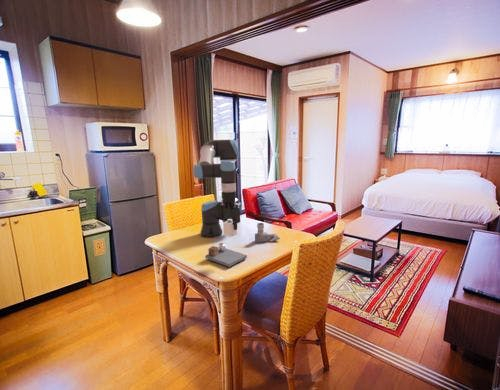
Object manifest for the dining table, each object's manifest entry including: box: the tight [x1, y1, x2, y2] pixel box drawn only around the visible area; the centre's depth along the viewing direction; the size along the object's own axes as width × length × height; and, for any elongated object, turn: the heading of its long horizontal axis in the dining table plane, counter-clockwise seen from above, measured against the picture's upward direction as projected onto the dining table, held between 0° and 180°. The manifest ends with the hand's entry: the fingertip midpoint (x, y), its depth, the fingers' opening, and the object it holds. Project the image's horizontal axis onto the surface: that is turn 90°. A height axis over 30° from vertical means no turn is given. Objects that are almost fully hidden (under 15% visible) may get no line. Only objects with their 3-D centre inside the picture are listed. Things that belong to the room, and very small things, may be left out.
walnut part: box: [207, 245, 219, 257], centre depth 151 cm, size 4×4×4 cm
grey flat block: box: [204, 247, 248, 269], centre depth 151 cm, size 18×14×2 cm
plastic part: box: [222, 219, 233, 238], centre depth 145 cm, size 5×5×8 cm
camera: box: [254, 222, 281, 243], centre depth 177 cm, size 9×12×15 cm
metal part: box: [218, 242, 226, 252], centre depth 156 cm, size 4×4×4 cm
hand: (230, 234), depth 146 cm, fingers closed on plastic part, 5 cm apart
